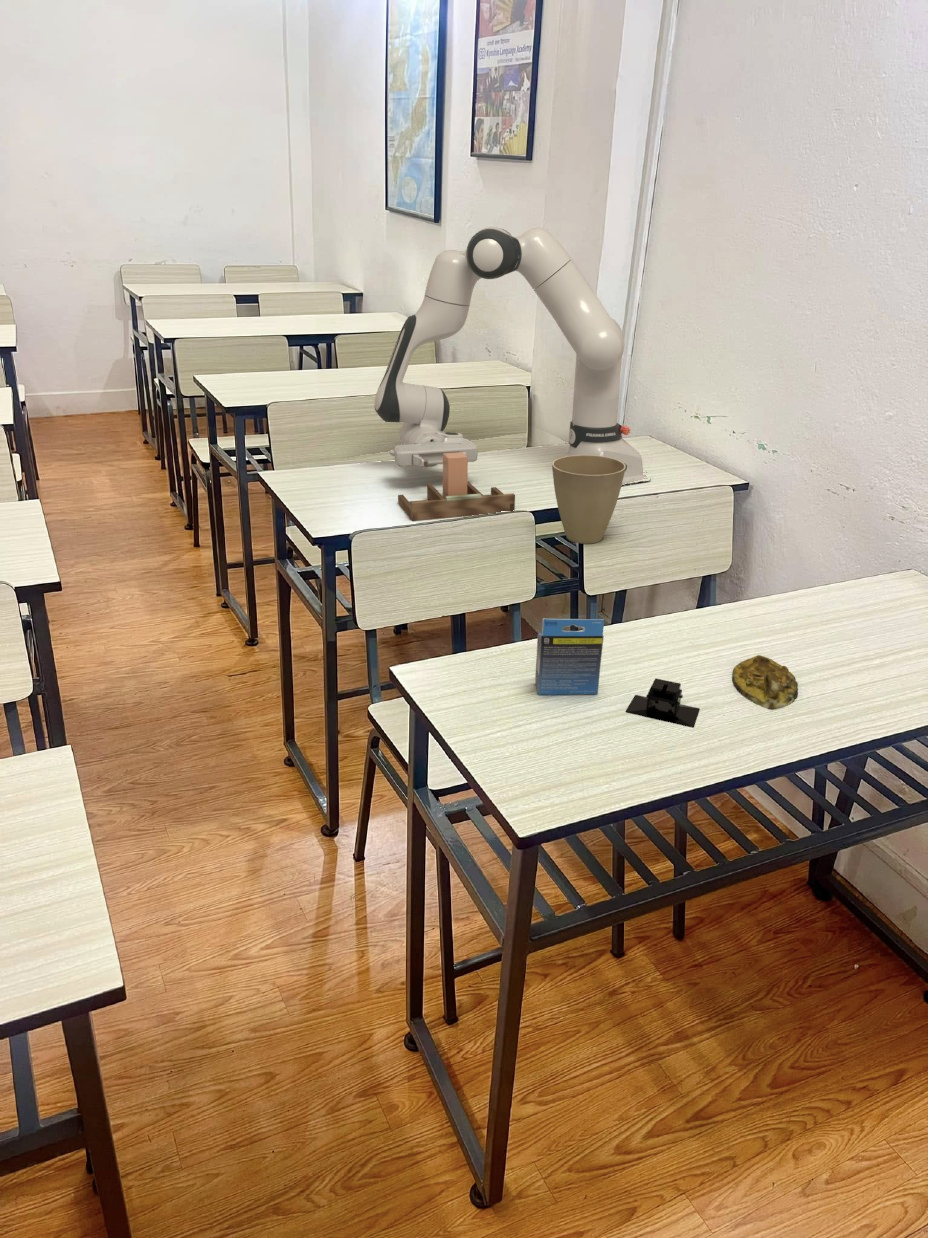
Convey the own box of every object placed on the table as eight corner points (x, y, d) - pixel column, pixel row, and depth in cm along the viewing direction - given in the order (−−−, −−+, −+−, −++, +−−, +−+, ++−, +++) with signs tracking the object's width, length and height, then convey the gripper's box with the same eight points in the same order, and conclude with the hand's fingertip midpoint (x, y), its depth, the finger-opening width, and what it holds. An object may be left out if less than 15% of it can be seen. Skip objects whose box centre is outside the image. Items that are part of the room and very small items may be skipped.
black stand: (612, 715, 125) (615, 687, 123) (625, 692, 131) (628, 664, 129) (702, 736, 121) (706, 707, 119) (711, 711, 127) (716, 682, 125)
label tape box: (593, 682, 133) (600, 607, 127) (598, 696, 129) (605, 619, 124) (534, 683, 132) (538, 607, 127) (537, 697, 129) (541, 619, 123)
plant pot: (558, 522, 197) (562, 451, 190) (625, 531, 193) (632, 458, 186) (539, 544, 185) (543, 469, 178) (610, 554, 180) (617, 477, 173)
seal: (725, 666, 141) (740, 714, 127) (725, 639, 139) (741, 685, 125) (786, 664, 139) (809, 713, 126) (788, 637, 137) (811, 683, 124)
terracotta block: (461, 502, 209) (461, 452, 204) (466, 508, 205) (467, 457, 200) (442, 504, 208) (442, 453, 203) (448, 510, 204) (448, 458, 199)
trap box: (495, 495, 215) (496, 476, 213) (514, 511, 204) (515, 492, 202) (398, 503, 208) (397, 484, 206) (412, 521, 197) (411, 500, 195)
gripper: (387, 437, 218) (401, 451, 206) (467, 432, 223) (485, 446, 212) (387, 462, 220) (401, 478, 209) (466, 457, 226) (484, 472, 214)
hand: (444, 462), depth 210 cm, fingers open, 8 cm apart
